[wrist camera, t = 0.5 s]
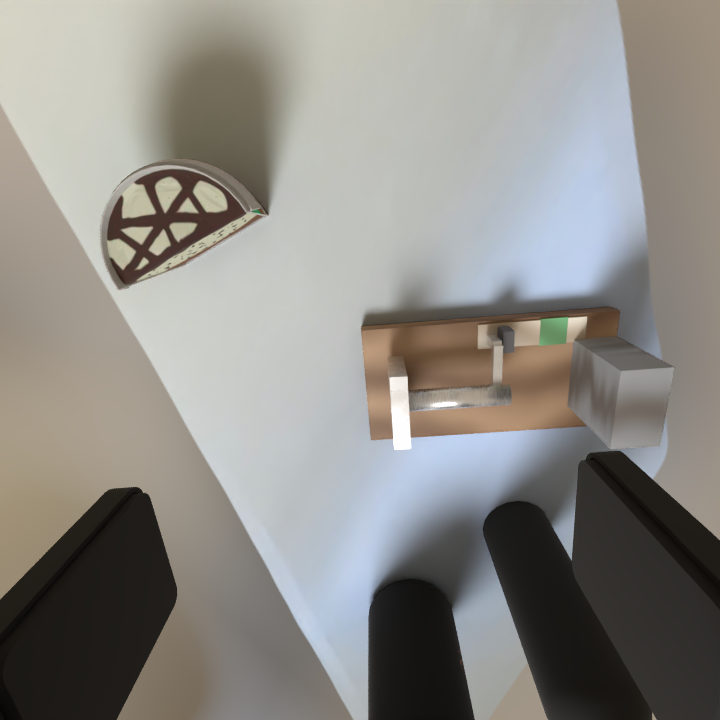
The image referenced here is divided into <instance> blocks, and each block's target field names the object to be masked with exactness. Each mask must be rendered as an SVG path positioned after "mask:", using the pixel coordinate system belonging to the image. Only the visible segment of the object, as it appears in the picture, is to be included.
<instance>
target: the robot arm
mask: <svg viewBox="0 0 720 720" xmlns="http://www.w3.org/2000/svg"><path fill="white" fill-rule="evenodd" d="M572 568H573V573H574V576H575V579H576V581H577V583H578V584H579V586H580V588H581V590H582V591H583V593H584V595H585V597H586V598H587V600H588V602H589V603H590V605H591V607H592V609H593V610H594V612H595V614H596V616H597V617H598V619H599V621H600V622H601V624H602V626H603V628H604V629H605V631H606V633H607V635H608V636H609V638H610V640H611V641H612V643H613V645H614V647H615V648H616V650H617V652H618V653H619V655H620V657H621V659H622V660H623V662H624V664H625V666H626V667H627V669H628V671H629V672H630V674H631V676H632V678H633V679H634V681H635V683H636V685H637V686H638V688H639V690H640V691H641V693H642V695H643V697H644V698H645V700H646V702H647V703H648V705H649V707H650V709H651V710H652V712H653V714H654V716H655V717H656V719H657V720H720V540H719V539H717V537H716V536H714V535H713V534H712V533H711V532H710V531H709V530H708V529H707V528H705V527H704V526H703V525H702V524H701V523H700V522H699V521H698V520H697V519H696V518H694V517H693V516H692V515H691V514H690V513H689V512H688V511H687V510H686V509H684V508H683V507H682V506H681V505H680V504H679V503H678V502H677V501H676V500H675V499H673V498H672V497H671V496H670V495H669V494H668V493H667V492H665V490H663V489H662V488H661V487H660V486H659V485H658V484H657V483H656V482H655V481H654V480H652V479H651V478H650V477H649V476H648V475H647V474H646V473H645V472H644V471H643V470H641V469H640V468H639V467H638V466H637V465H636V464H635V463H634V462H633V461H631V460H630V459H629V458H628V457H627V456H626V455H625V454H624V453H622V452H621V451H608V452H594V453H590V454H588V456H587V458H586V460H582V461H580V463H579V467H578V480H577V495H576V509H575V523H574V538H573V552H572ZM176 598H177V587H176V583H175V580H174V576H173V573H172V569H171V566H170V563H169V559H168V557H167V553H166V550H165V546H164V543H163V539H162V536H161V532H160V529H159V526H158V522H157V519H156V516H155V512H154V509H153V506H152V502H151V499H150V497H149V495H148V494H146V493H143V492H142V490H141V489H140V488H138V487H131V488H130V487H129V488H116V489H110V490H108V491H107V492H105V493H104V494H103V495H102V496H101V497H100V498H99V499H98V501H97V502H96V503H95V504H94V505H93V506H92V507H91V508H90V509H89V510H88V511H87V512H86V513H85V514H84V515H83V516H82V517H81V518H80V519H79V520H78V521H77V522H76V523H75V524H74V525H73V526H72V527H71V528H70V529H69V530H68V531H67V532H66V533H65V534H64V535H63V536H62V537H61V538H60V539H59V540H58V541H57V542H56V543H55V544H54V545H53V546H52V547H51V548H50V549H49V550H48V552H46V554H45V555H44V556H43V557H42V558H41V559H40V560H39V561H38V562H37V563H36V564H35V565H34V566H33V567H32V568H31V569H30V570H29V571H28V572H27V573H26V574H25V575H24V576H23V577H22V578H21V579H20V580H19V581H18V582H17V583H16V584H15V585H14V586H13V587H12V588H11V589H10V590H9V591H8V593H6V594H5V595H4V596H3V597H2V598H1V600H0V720H117V718H118V716H119V714H120V712H121V710H122V707H123V706H124V704H125V702H126V700H127V698H128V696H129V694H130V692H131V690H132V688H133V686H134V684H135V682H136V680H137V678H138V676H139V674H140V672H141V670H142V668H143V667H144V665H145V663H146V661H147V659H148V657H149V654H150V653H151V651H152V649H153V647H154V645H155V643H156V641H157V639H158V637H159V635H160V633H161V631H162V629H163V627H164V625H165V623H166V621H167V619H168V617H169V615H170V613H171V611H172V609H173V607H174V605H175V602H176Z"/></svg>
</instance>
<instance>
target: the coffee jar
mask: <svg viewBox="0 0 720 720" xmlns="http://www.w3.org/2000/svg"><path fill="white" fill-rule="evenodd" d="M368 720H475V719H474V714H473V709H472V704H471V700H470V695H469V690H468V685H467V680H466V675H465V670H464V665H463V661H462V656H461V651H460V646H459V641H458V636H457V631H456V626H455V622H454V617H453V612H452V607H451V604H450V603H449V601H448V600H447V598H446V597H445V596H444V594H443V593H441V592H440V591H439V590H438V589H437V588H435V587H434V586H433V585H431V584H429V583H426V582H423V581H419V580H403V581H397V582H395V583H392V584H390V585H387V586H386V587H385V588H384V589H382V590H381V591H380V592H379V593H378V595H377V596H376V597H375V599H374V601H373V602H372V604H371V606H370V610H369V654H368Z"/></svg>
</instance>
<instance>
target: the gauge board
mask: <svg viewBox="0 0 720 720" xmlns="http://www.w3.org/2000/svg"><path fill="white" fill-rule="evenodd" d="M619 315H620V310H618V309H615V308H613V307H602V308H589V309H576V310H564V311H551V312H538V313H526V314H513V315H500V316H487V317H475V318H462V319H449V320H437V321H424V322H411V323H399V324H386V325H373V326H361V334H362V345H363V356H364V367H365V378H366V389H367V401H368V412H369V423H370V434H371V440H382V439H393V432H392V422H391V408H390V394H389V379H388V365H387V357H396V356H403V359H404V363H405V368H406V372H407V378H408V390H414V389H428V388H442V387H456V386H471V385H485V384H490V383H491V348H490V347H489V346H488V344H487V343H486V334H496V335H497V333H498V327H501V326H509V327H510V328H512V329H513V330H514V331H515V341H514V353H503V365H502V383H508V384H509V385H510V388H511V392H512V402H511V404H510V405H501V406H487V407H472V408H457V409H443V410H428V411H414V412H409V417H410V436H411V438H412V437H428V436H443V435H458V434H473V433H489V432H504V431H519V430H534V429H550V428H565V427H580V426H588V427H589V428H590V429H591V430H592V431H593V432H594V433H595V434H596V435H597V436H598V437H599V438H600V440H601V441H602V442H603V443H604V444H605V445H606V446H607V447H608V448H609V449H622V448H638V447H654V446H660V443H661V437H662V432H663V427H664V421H665V416H666V410H667V405H668V400H669V394H670V389H671V384H672V378H673V373H674V368H675V367H673V366H671V365H669V364H668V363H666V362H664V361H662V360H660V359H658V358H656V357H655V356H653V355H651V354H649V353H647V352H645V351H643V350H641V349H640V348H638V347H636V346H634V345H632V344H630V343H628V342H626V341H625V340H623V339H621V338H619V337H617V330H618V322H619Z"/></svg>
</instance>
